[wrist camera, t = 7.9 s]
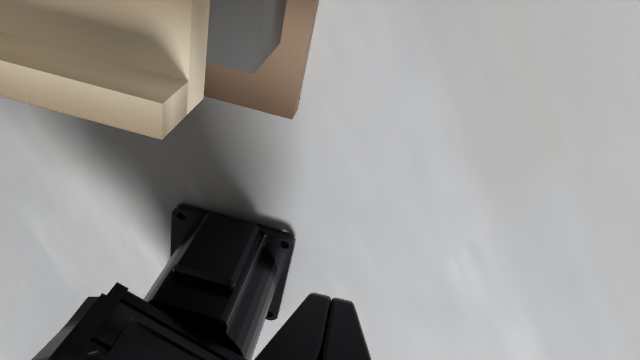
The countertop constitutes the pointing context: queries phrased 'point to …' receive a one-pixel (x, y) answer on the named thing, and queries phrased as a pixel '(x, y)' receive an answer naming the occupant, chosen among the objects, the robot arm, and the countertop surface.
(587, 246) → the countertop surface
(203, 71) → the beam
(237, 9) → the stand
